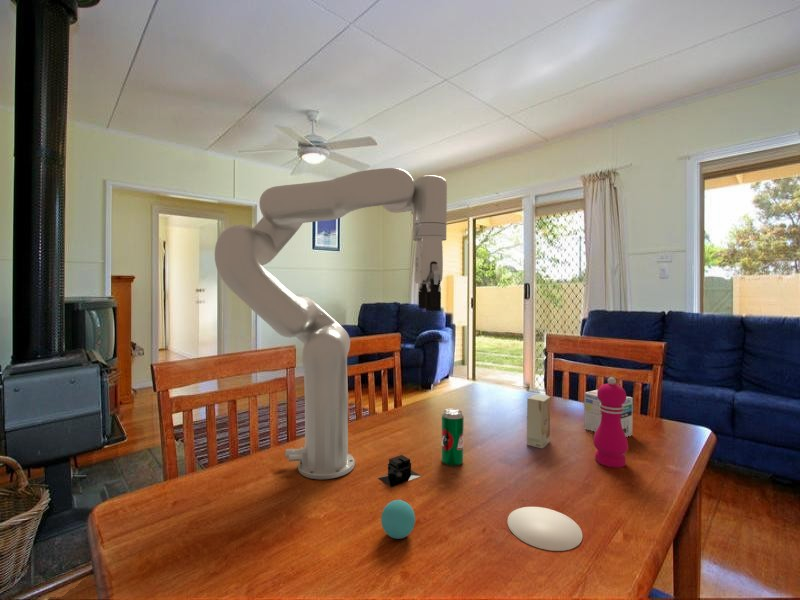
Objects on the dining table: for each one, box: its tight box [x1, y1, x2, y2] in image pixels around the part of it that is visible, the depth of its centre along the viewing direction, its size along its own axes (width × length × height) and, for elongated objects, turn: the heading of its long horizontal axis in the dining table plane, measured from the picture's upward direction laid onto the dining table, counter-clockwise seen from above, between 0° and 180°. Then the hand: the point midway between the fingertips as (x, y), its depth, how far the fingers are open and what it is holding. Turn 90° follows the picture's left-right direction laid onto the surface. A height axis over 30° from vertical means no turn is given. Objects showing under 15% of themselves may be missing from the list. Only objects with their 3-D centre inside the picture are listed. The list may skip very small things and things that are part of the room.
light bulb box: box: [583, 389, 634, 438], centre depth 112 cm, size 11×7×11 cm, turn 34°
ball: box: [380, 499, 416, 540], centre depth 65 cm, size 6×6×6 cm
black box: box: [377, 454, 421, 488], centre depth 85 cm, size 12×7×5 cm, turn 128°
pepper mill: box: [592, 376, 629, 469], centre depth 93 cm, size 7×7×20 cm
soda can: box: [440, 408, 465, 467], centre depth 92 cm, size 5×5×12 cm
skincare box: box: [526, 393, 552, 449], centre depth 104 cm, size 6×4×12 cm
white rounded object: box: [506, 506, 583, 552], centre depth 68 cm, size 12×12×1 cm
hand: (429, 309), depth 90 cm, fingers open, 9 cm apart
